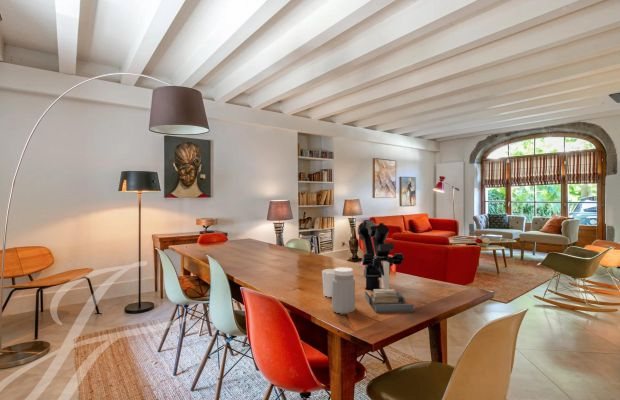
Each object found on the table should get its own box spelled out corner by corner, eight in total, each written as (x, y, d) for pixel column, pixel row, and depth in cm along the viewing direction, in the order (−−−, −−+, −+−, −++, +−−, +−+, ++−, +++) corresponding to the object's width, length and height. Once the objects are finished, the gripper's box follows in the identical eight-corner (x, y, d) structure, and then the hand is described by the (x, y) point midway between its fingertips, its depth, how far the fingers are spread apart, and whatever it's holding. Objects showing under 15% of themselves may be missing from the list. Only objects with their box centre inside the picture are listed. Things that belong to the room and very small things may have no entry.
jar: (358, 313, 137) (358, 271, 137) (336, 316, 134) (336, 272, 134) (349, 306, 146) (349, 266, 146) (328, 308, 144) (328, 267, 143)
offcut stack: (370, 298, 155) (370, 289, 154) (393, 297, 155) (393, 288, 155) (374, 302, 148) (374, 293, 148) (398, 302, 148) (398, 293, 148)
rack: (364, 299, 156) (364, 291, 156) (398, 298, 157) (398, 290, 157) (375, 315, 136) (375, 305, 136) (413, 314, 137) (413, 304, 137)
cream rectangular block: (381, 286, 152) (381, 260, 152) (386, 286, 152) (386, 260, 152) (384, 289, 147) (384, 262, 147) (389, 289, 147) (389, 262, 147)
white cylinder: (344, 293, 165) (344, 269, 165) (337, 299, 156) (337, 274, 156) (326, 291, 169) (326, 268, 169) (318, 296, 160) (318, 272, 160)
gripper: (363, 236, 152) (368, 265, 142) (402, 236, 154) (411, 265, 143) (359, 250, 161) (364, 278, 150) (397, 250, 162) (404, 278, 151)
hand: (386, 275), depth 148 cm, fingers closed on cream rectangular block, 2 cm apart
